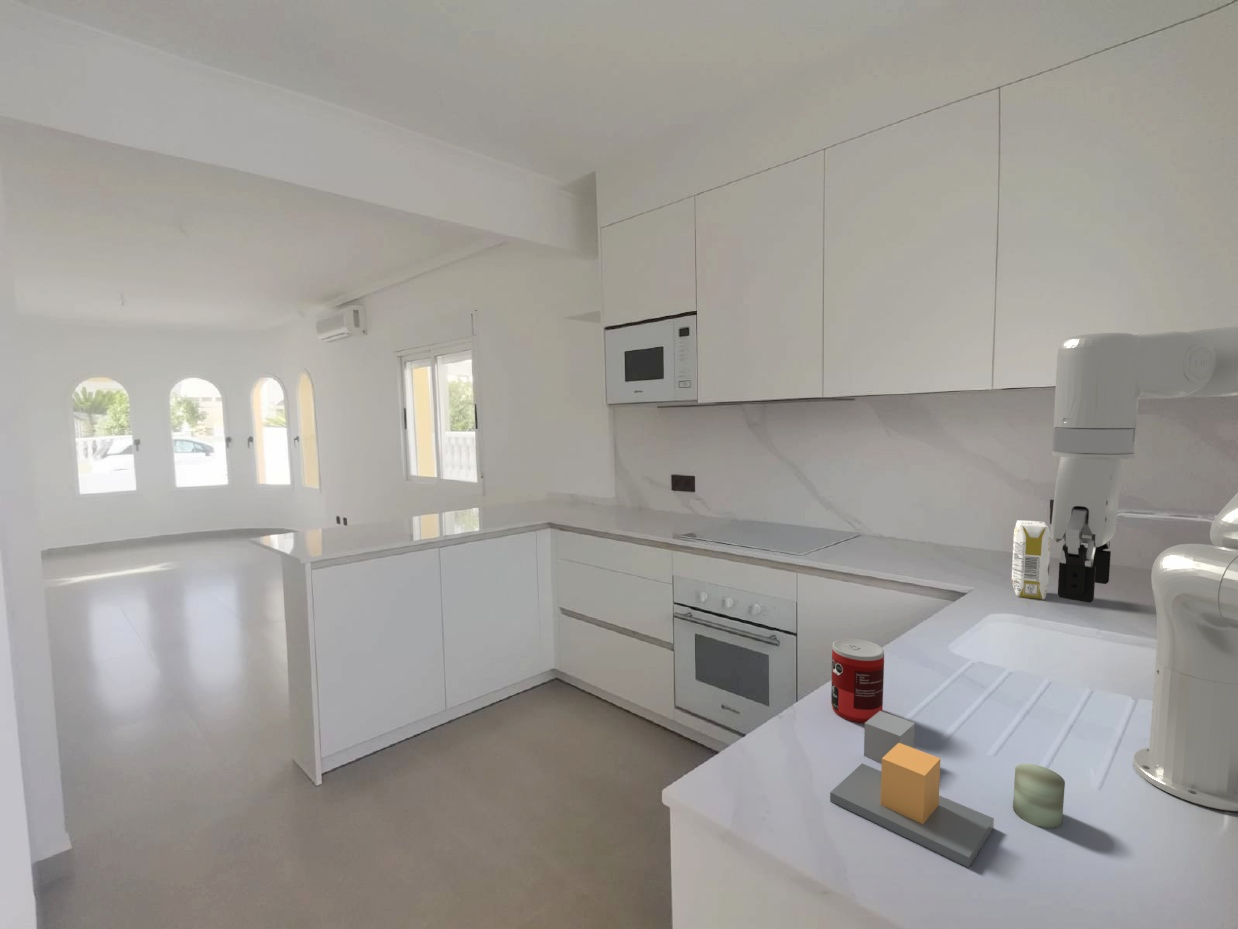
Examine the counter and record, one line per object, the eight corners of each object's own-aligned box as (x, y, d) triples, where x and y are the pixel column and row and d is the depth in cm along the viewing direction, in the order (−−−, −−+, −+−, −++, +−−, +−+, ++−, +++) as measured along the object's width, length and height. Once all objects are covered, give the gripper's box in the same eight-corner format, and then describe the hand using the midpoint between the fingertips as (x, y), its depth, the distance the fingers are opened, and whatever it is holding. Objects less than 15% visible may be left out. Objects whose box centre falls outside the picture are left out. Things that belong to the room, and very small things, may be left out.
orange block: (897, 787, 79) (898, 742, 78) (938, 805, 75) (940, 758, 75) (880, 804, 76) (881, 758, 75) (923, 824, 72) (924, 775, 71)
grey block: (879, 743, 92) (880, 710, 91) (913, 756, 88) (914, 723, 88) (863, 756, 88) (864, 723, 88) (899, 770, 85) (900, 736, 84)
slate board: (861, 771, 84) (861, 763, 84) (993, 827, 73) (993, 818, 73) (830, 801, 78) (830, 792, 78) (968, 868, 67) (969, 857, 67)
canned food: (840, 696, 106) (841, 634, 105) (888, 710, 101) (890, 645, 100) (823, 713, 100) (824, 648, 99) (874, 729, 95) (876, 660, 94)
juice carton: (1013, 597, 159) (1016, 524, 157) (1010, 588, 166) (1013, 519, 165) (1048, 601, 155) (1052, 527, 153) (1043, 592, 163) (1047, 521, 161)
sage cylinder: (1015, 796, 79) (1017, 759, 78) (1063, 812, 76) (1065, 773, 75) (1010, 816, 75) (1013, 778, 74) (1061, 834, 72) (1063, 793, 71)
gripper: (1068, 439, 79) (1061, 570, 81) (1034, 446, 67) (1027, 600, 69) (1145, 441, 74) (1135, 581, 75) (1123, 449, 62) (1112, 615, 63)
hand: (1083, 590), depth 72 cm, fingers open, 9 cm apart
